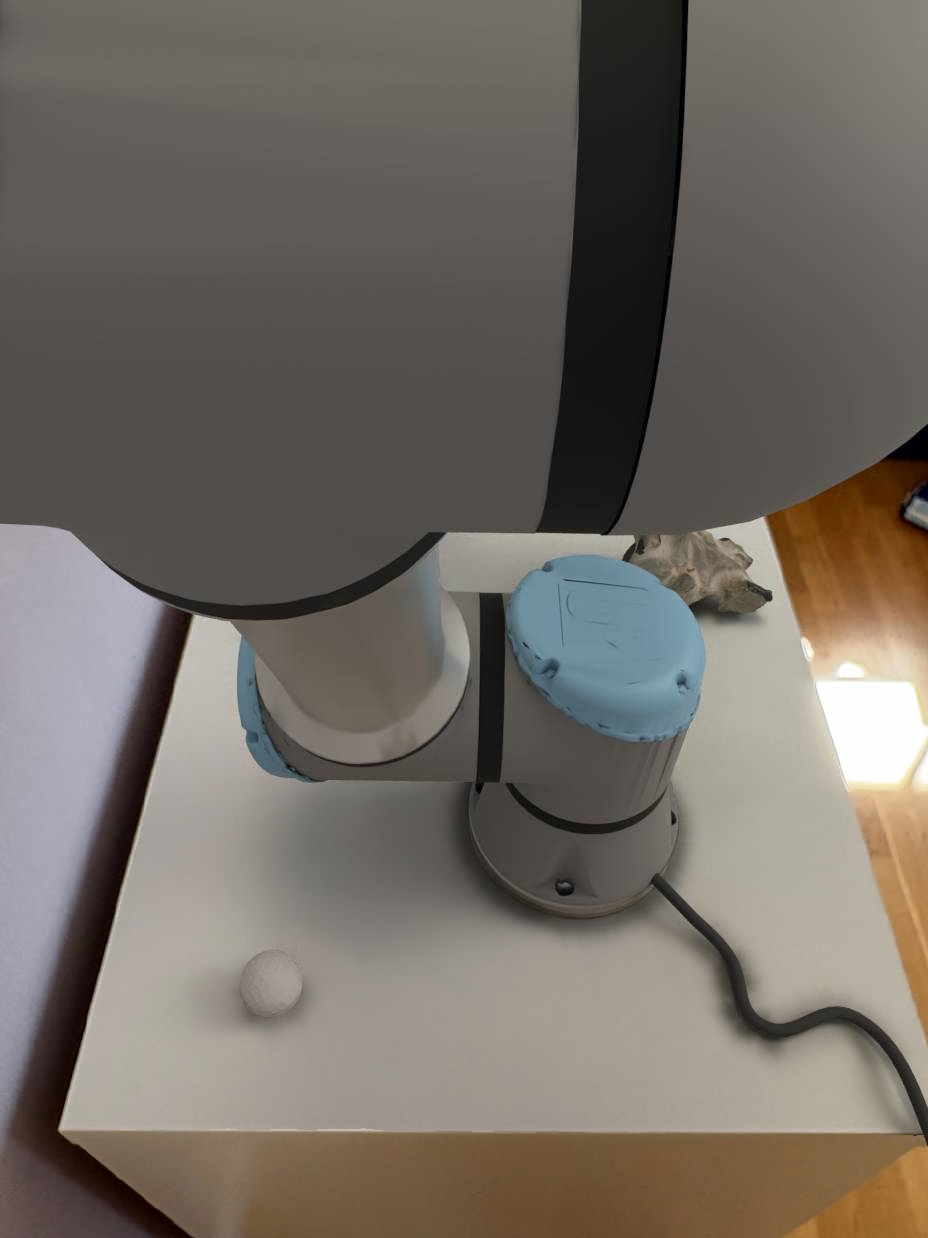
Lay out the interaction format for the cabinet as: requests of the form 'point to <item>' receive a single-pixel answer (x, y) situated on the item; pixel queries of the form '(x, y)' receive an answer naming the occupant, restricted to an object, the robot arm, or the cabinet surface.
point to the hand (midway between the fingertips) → (404, 341)
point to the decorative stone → (700, 569)
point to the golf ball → (270, 983)
